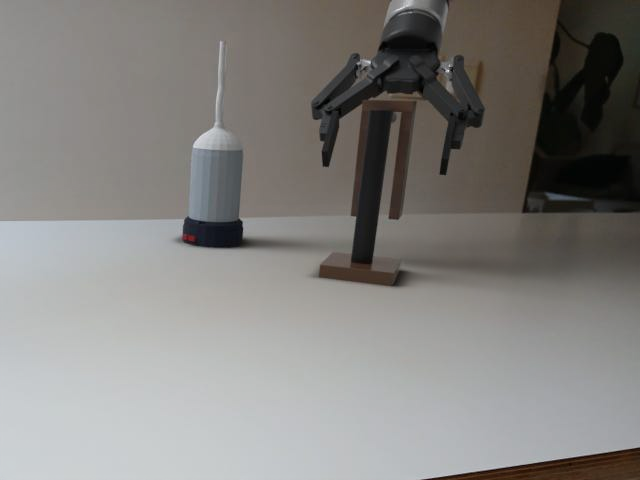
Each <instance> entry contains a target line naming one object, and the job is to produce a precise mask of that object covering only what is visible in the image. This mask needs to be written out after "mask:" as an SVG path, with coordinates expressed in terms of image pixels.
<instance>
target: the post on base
mask: <svg viewBox="0 0 640 480" xmlns="http://www.w3.org/2000/svg"><path fill="white" fill-rule="evenodd" d="M397 119H398V114H397V112H393V110H383V109H370V111H369V119H368V127H367V135H366V143H365V151H364V159H363V167H362V175H361V183H360V191H359V199H358V207H357V215H356V217H355V226H354V232H353V241H352V247H351V248H352V249H351V253H349V252H338V251H332V252H331V253H330V254H329V255H328V256H327V257H326V258H325V259H324V260H323V261H322V262H321V263H320V264H319V270H318V278H320V279H321V278H322V279H331V280H332V279H333V280H337V281H338V280H339V281H347V282H356V283H363V284H370V285H371V284H372V285H379V286H387V287H393V286H394V283H395V281H396V279H397V276H398V275H399V273H400V270H401V263H402V259H401V258H395V257H385V256H375V255H374V254H375V247H376V239H377V232H378V226H379V225H378V224H379V216H380V210H381V209H380V208H381V201H382V194H383V187H384V179H385V172H386V166H387V157H388V150H389V142H390V136H391V127H392V124H393V123H395V122H396V121H397Z"/></svg>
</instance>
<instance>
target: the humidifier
mask: <svg viewBox="0 0 640 480" xmlns="http://www.w3.org/2000/svg"><path fill="white" fill-rule="evenodd" d="M227 54H228V44H227V41H226V40H225V41H223V40H220V41H219V53H218V55H219V56H218V71H217V73H218V75H217V82H218V83H217V84H218V85H217V93H216V98H215V122H214V124H213V125H214V126H213V127H212V128H210V129H209V130H207V131H205V132H204V133H202V134H201V135H200V136H199V137H198V138H197V139H196V140H195V141H194V143H193V145H192V149H191V156H190V157H191V160H190V162H191V163H190V179H189V180H190V181H189V200H188V215H187V216H186V217H185V218H184V219H183V225H182V242H183V244H187V245H190V246H195V247H202V248H213V249H215V248H216V249H219V248H221V249H223V248H225V249H226V248H234V247H239V246H242V244H243V240H244V239H243V238H244V226H243V225H244V221H243V220H242V219H241V218H240V208H241V195H242V193H241V192H242V179H243V165H244V152H243V151H244V147H243V145H242V143H241V141H240V139H239V138H238V137H237V136H236V135H235V134H234V133H232V132H231V131H229V130H228V129H227V128H226V126H225V123H224V107H225V96H226V95H225V94H226V70H227V60H226V58H227V56H228V55H227Z"/></svg>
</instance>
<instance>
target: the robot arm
mask: <svg viewBox="0 0 640 480" xmlns="http://www.w3.org/2000/svg"><path fill="white" fill-rule="evenodd" d="M452 1H454V0H390V1H389V5H388V8H387V12H386V14H385V15H386V16H385V19H384V24H383V29H382V32H381V37H380V39H379V44H378V48H377V52H376V55H375V56H374V57H373V58H371V59H366V58H365V59H363V58H361V55H360V54H359V53H358V52H353V53H351V54H350V56H349V58H348V60H347V63H346V65H345V66H344V67H343V68H342V69H341V70H340V71H339V72H338V74H336V75H335V77H334V78H332V79H331V81H329V83H328V84H327V85H326V86H325V87H324V88H323V89H322V90H321V91H319V93H318V94H317V95H316V96H315V97H314V98H313V99H312V100H311V102H310V109H311V118H312V119H313V120H314V121H319V120H321V121H320V125H319V129H318V135H319V141H320V142H323V144H322V148H321V162H322V163H321V164H322V167H323V168H330V164H331V160H332V156H333V153H334V149H335V145H336V142H337V138H338V133H339V130H340V120H341V119H342V118H344V117H345V116H347V115H348V114H350V113H351V112H352V111H354V110H356V108H358V107H360V106H362V102H363V100H371V98H372V99H375V98H378V97H379V96H380V95H381V94H383V93H384V92H386V94H387V95H388V94H390V95H393V94H394V95H395V94H403V95H414V93H417V94H418V95H419V96H420V97H421V98H422V99H423V100H424V101H426V100H427V101H428V103H430V105H432V106H433V108H434V109H435V110H436V111H437V112H438V113H439V114H440V115H441V116H442V117H443V118H444V119H445V120H446V122H447V127H446V131H445V138H444V143H443V148H442V152H441V153H442V154H441V158H440V166H439V173H438V174H439V175H440V176H447V172H448V168H449V162H450V157H451V150H460V149H461V148H462V147H463V142H464V137H465V132H466V130H467V128H471V127H472V128H474V129H480V128H481V127H482V126H483V121H484V117H485V111H486V108H485V106H484V104H483V102H482V99H481V98H480V96H479V95H478V92H477V90H476V89H475V87H474V85H473V83H472V81H471V79H470V76H469V75H468V74H467V71H466V70H465V56H464V55H462V54H457V55H455V56H454V57H453V59H452V60H448V61H447V60H446V61H441V60H440V58H439V57H440V53H441V52H440V51H441V47H442V41H443V36H444V32H445V27H446V23H447V17H448V12H449V10H450V9H449V8H450V5H451V2H452ZM366 72H368V73H367V74H366V76H365V78H363V79H362V80H361V78H362V76H363V75H364V74H365V73H366ZM439 74H442V75H444V77H445V79H446V80H447V82H451V83H450V84H451V87H452V90H453V92H454V94H455V95H456V98H455V97H454V95H453V94H452V93H450V91H449V90H448V89H447V88H446V87H445V86H444V85H443V84H442V83H441V82H440V81H439V80H438V78H437V77H438V76H439ZM357 80H360V81H358V82H357ZM356 82H357V83H356ZM355 83H356V84H355Z"/></svg>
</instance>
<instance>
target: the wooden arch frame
mask: <svg viewBox="0 0 640 480" xmlns="http://www.w3.org/2000/svg"><path fill="white" fill-rule="evenodd" d="M417 102H418V101H417V100H396V99H395V100H393V99H392V100H391V99H389V100H388V99H368V100H363V102H362V104H361V112H360V123H359V130H358V131H359V132H358V142H357V151H356V160H355V170H354V180H353V190H352V199H351V207H350V217H355V218H356V215H357V207H358V199H359V191H360V183H361V175H362V167H363V159H364V151H365V143H366V135H367V127H368V119H369V111H370V109H383V110H393V112H395V113H400V121H399V129H398V137H397V144H396V153H395V162H394V169H393V177H392V186H391V194H390V202H389V211H388V220H395V221H399V220H400V218H401V217H402V216H403V212H404V204H405V203H404V202H405V195H406V189H407V188H406V187H407V179H408V173H409V172H408V171H409V164H410V156H411V150H412V149H411V148H412V141H413V133H414V126H415V118H416V110H417Z"/></svg>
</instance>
